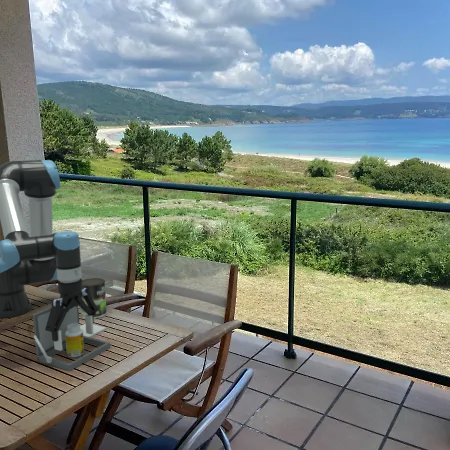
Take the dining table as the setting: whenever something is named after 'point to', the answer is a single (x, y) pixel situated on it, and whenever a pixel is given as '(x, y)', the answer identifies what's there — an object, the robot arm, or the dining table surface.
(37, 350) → the case
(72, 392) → the dining table surface
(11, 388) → the dining table surface
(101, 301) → the coffee can
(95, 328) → the pad
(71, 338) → the supplement bottle
